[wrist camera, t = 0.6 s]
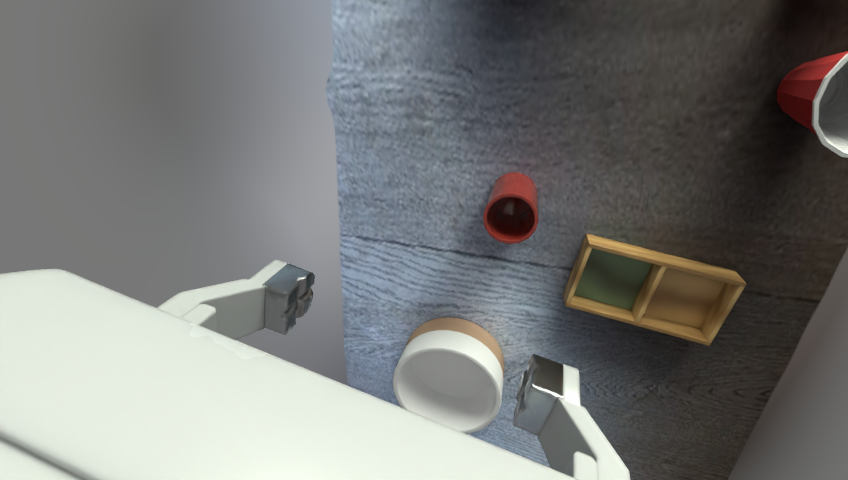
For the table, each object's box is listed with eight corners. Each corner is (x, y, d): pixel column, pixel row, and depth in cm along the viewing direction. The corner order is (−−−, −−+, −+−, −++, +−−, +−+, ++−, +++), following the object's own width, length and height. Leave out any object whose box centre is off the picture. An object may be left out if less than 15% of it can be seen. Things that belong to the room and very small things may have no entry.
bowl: (395, 320, 73) (379, 351, 66) (494, 312, 68) (489, 343, 61) (419, 399, 79) (407, 435, 72) (512, 396, 74) (510, 435, 66)
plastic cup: (852, 136, 48) (943, 159, 38) (742, 140, 51) (798, 162, 40) (884, 30, 44) (997, 22, 33) (763, 40, 47) (831, 35, 36)
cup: (497, 167, 59) (490, 187, 50) (543, 178, 58) (544, 201, 49) (486, 210, 62) (478, 236, 53) (529, 221, 61) (529, 249, 52)
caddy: (586, 233, 60) (589, 243, 57) (735, 270, 57) (746, 283, 54) (563, 293, 64) (564, 305, 61) (700, 331, 61) (709, 346, 58)
